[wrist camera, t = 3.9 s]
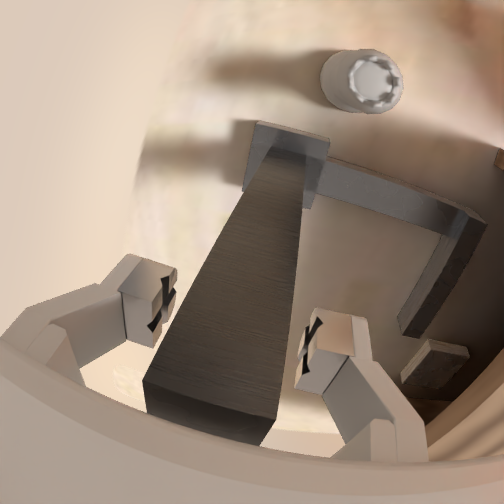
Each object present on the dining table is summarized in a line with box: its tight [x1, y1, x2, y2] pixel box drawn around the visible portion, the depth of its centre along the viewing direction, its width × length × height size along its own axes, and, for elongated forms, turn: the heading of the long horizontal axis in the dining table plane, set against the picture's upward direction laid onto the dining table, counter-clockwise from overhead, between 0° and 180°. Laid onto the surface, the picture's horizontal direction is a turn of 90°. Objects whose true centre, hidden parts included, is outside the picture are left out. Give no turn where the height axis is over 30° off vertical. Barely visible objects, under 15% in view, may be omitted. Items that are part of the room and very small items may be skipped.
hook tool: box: [142, 121, 488, 446], centre depth 16 cm, size 18×14×20 cm
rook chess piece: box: [320, 49, 404, 114], centre depth 15 cm, size 4×4×8 cm
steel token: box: [400, 339, 470, 389], centre depth 29 cm, size 6×6×2 cm
